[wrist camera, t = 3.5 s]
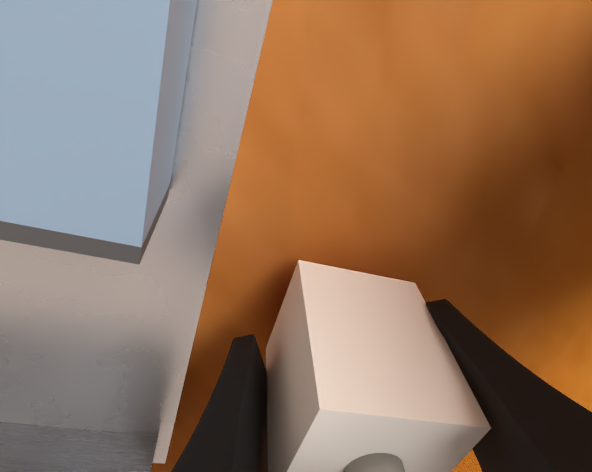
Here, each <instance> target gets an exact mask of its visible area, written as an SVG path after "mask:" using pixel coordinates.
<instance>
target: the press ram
mask: <svg viewBox="0 0 592 472" xmlns="http://www.w3.org/2000/svg"><path fill="white" fill-rule="evenodd" d="M196 4H197V0H0V240H5V241H10V242H16V243H21V244H27V245H33V246H38V247H44V248H49V249H55V250H61V251H66V252H72V253H77V254H83V255H89V256H94V257H100V258H105V259H111V260H117V261H122V262H128V263H133V264H140V262H141V260H142V257H143V255H144V253H145V250H146V248H147V246H148V243H149V241H150V239H151V236H152V234H153V231H154V229H155V227H156V224H157V222H158V220H159V217H160V215H161V213H162V210H163V208H164V206H165V203H166V201H167V198H168V195H169V188H170V181H171V174H172V167H173V161H174V154H175V147H176V140H177V133H178V127H179V120H180V113H181V106H182V99H183V92H184V86H185V79H186V72H187V65H188V58H189V52H190V45H191V38H192V31H193V24H194V17H195V11H196Z"/></svg>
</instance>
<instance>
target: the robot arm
mask: <svg viewBox="0 0 592 472" xmlns="http://www.w3.org/2000/svg"><path fill="white" fill-rule="evenodd" d="M426 306H427V308H428V310H429V312H430V314H431V316H432V318H433V320H434V322H435V324H436V326H437V327H438V329H439V331H440V333H441V334H442V336H443V337H444V339H445V341H446V343H447V345H448V346H449V348H450V350H451V352H452V354H453V356H454V358H455V360H456V362H457V364H458V366H459V367H460V369H461V371H462V373H463V375H464V377H465V379H466V381H467V383H468V385H469V387H470V388H471V390H472V392H473V394H474V396H475V398H476V400H477V402H478V404H479V406H480V408H481V409H482V411H483V413H484V415H485V417H486V419H487V421H488V423H489V425H490V427H491V429H490V430H489V431H488V432H487V433H486V434H485V436H484V437H483V438H482V439H481V440H480V441H479V442H478V443H477V444H476V445H475V446H474V447H473V448H472V449H473V451H474V453H475V455H476V457H477V460H478V462H479V464H480V467H481V469H482V472H592V412H591V411H589V410H587V409H586V408H584V407H583V406H581V405H579V404H578V403H576V402H575V401H573V400H571V399H570V398H568V397H567V396H565V395H564V394H562V393H561V392H559V391H558V390H556V389H555V388H553V387H552V386H550V385H549V384H548V383H546V382H545V381H543V380H542V379H541V378H539V377H538V376H536V375H535V374H534V373H532V372H531V371H530V370H528V369H527V368H526V367H524V366H523V365H522V364H520V363H519V362H518V361H516V360H515V359H514V358H513V357H511V356H510V355H509V354H508V353H506V352H505V351H504V350H503V349H502V348H500V347H499V346H498V345H497V344H496V343H494V342H493V341H492V340H491V339H490V338H488V337H487V336H486V335H485V334H484V333H483V332H481V331H480V330H479V329H478V328H477V327H476V326H475V325H474V324H472V323H471V322H470V321H469V320H468V319H467V318H466V317H465V316H464V315H463V314H462V313H460V312H459V311H458V310H457V309H456V308H455V307H454V306H453V305H452V304H451V303H450V302H449V301H447V300H446V299H443V300H438V301H432V302H427V303H426ZM171 472H268V441H267V371H266V368H265V365H264V362H263V359H262V356H261V354H260V351H259V348H258V345H257V342H256V339H255V336H254V334H253V335H248V336H242V337H237V338H235V339H234V340H233V341H232V345H231V348H230V351H229V354H228V356H227V359H226V362H225V365H224V367H223V370H222V372H221V375H220V377H219V380H218V382H217V384H216V387H215V389H214V391H213V394H212V396H211V398H210V401H209V403H208V405H207V407H206V409H205V411H204V413H203V415H202V417H201V419H200V421H199V423H198V425H197V427H196V429H195V431H194V433H193V435H192V437H191V439H190V440H189V442H188V444H187V446H186V448H185V449H184V451H183V453H182V455H181V456H180V458H179V460H178V461H177V463H176V465H175V466H174V468H173V470H172V471H171Z"/></svg>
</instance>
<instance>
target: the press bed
mask: <svg viewBox="0 0 592 472" xmlns="http://www.w3.org/2000/svg"><path fill="white" fill-rule="evenodd" d="M272 1H273V0H197V4H196V11H195V17H194V24H193V31H192V38H191V45H190V52H189V58H188V65H187V72H186V79H185V86H184V92H183V99H182V106H181V113H180V120H179V127H178V133H177V140H176V147H175V154H174V161H173V167H172V174H171V181H170V188H169V195H168V198H167V201H166V203H165V206H164V208H163V210H162V213H161V215H160V217H159V220H158V222H157V224H156V227H155V229H154V231H153V234H152V236H151V239H150V241H149V243H148V246H147V248H146V250H145V253H144V255H143V257H142V260H141V262H140V264H133V263H128V262H122V261H117V260H111V259H105V258H100V257H94V256H89V255H83V254H77V253H72V252H66V251H61V250H55V249H49V248H44V247H38V246H33V245H27V244H21V243H16V242H10V241H5V240H0V472H151V468H152V464H153V463H163V464H165V462H166V458H167V453H168V449H169V445H170V440H171V436H172V432H173V427H174V423H175V419H176V415H177V410H178V406H179V402H180V397H181V393H182V389H183V384H184V380H185V376H186V371H187V367H188V363H189V359H190V354H191V350H192V346H193V341H194V337H195V333H196V328H197V324H198V320H199V315H200V311H201V307H202V303H203V298H204V294H205V290H206V285H207V281H208V277H209V272H210V268H211V264H212V260H213V255H214V251H215V247H216V242H217V238H218V234H219V229H220V225H221V221H222V216H223V212H224V208H225V204H226V199H227V195H228V191H229V186H230V182H231V178H232V173H233V169H234V165H235V160H236V156H237V152H238V148H239V143H240V139H241V135H242V130H243V126H244V122H245V117H246V113H247V109H248V105H249V100H250V96H251V92H252V87H253V83H254V79H255V74H256V70H257V66H258V61H259V57H260V53H261V49H262V44H263V40H264V36H265V31H266V27H267V23H268V18H269V14H270V10H271V5H272Z"/></svg>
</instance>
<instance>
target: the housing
mask: <svg viewBox="0 0 592 472" xmlns="http://www.w3.org/2000/svg"><path fill="white" fill-rule="evenodd" d="M266 371H267V441H268V472H451V471H452V470H453V469H454V468H455V467H456V466H457V464H458V463H459V462H460V461H461V460H462V459H463V458H464V457H465V456H466V455H467V454H468V453H469V452H470V451H471V449H472V448H473V447H474V446H475V445H476V444H477V443H478V442H479V441H480V440H481V439H482V438H483V437H484V436H485V434H486V433H487V432H488V431H489V430H490V429H491V427H490V425H489V423H488V421H487V419H486V417H485V415H484V413H483V411H482V409H481V408H480V406H479V404H478V402H477V400H476V398H475V396H474V394H473V392H472V390H471V388H470V387H469V385H468V383H467V381H466V379H465V377H464V375H463V373H462V371H461V369H460V367H459V366H458V364H457V362H456V360H455V358H454V356H453V354H452V352H451V350H450V348H449V346H448V345H447V343H446V341H445V339H444V337H443V336H442V334H441V333H440V331H439V329H438V327H437V326H436V324H435V322H434V320H433V318H432V316H431V314H430V312H429V310H428V308H427V306H426V303H425V301H424V299H423V297H422V295H421V293H420V291H419V289H418V287H417V285H416V283H414V282H409V281H404V280H399V279H393V278H388V277H383V276H378V275H373V274H368V273H363V272H358V271H353V270H348V269H343V268H338V267H332V266H327V265H322V264H317V263H312V262H307V261H302V260H298V262H297V265H296V268H295V270H294V273H293V276H292V279H291V281H290V284H289V287H288V289H287V292H286V295H285V298H284V300H283V303H282V306H281V309H280V311H279V314H278V317H277V319H276V322H275V325H274V328H273V330H272V333H271V336H270V338H269V341H268V344H267V347H266Z"/></svg>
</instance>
